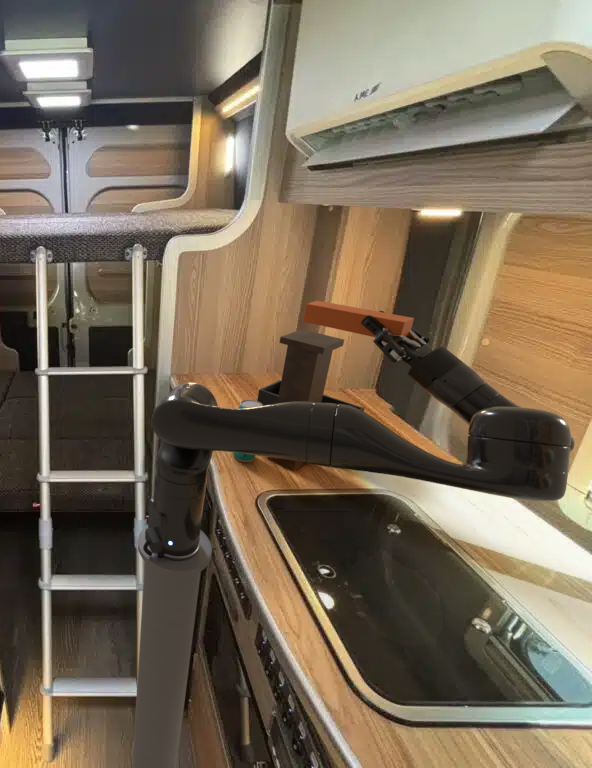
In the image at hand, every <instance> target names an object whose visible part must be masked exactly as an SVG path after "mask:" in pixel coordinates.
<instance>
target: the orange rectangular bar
mask: <svg viewBox="0 0 592 768" xmlns="http://www.w3.org/2000/svg"><path fill="white" fill-rule="evenodd" d="M368 315H372V316H373V317H374V318H375V319H376V320H378V321H379V322H380V323H381V324H383V325H384V326H385V327H386V328H388V329H389V330H391V331H392V332H393V333H394V334H397V333H398V334H400V335H404V336H405V337H406V336H409V335H408V334H409V331H411V328H412V327H413V325H414V324H413V323H414V321H415V317H411V316H410V317H409V316H406V315H399V314H394V313H388V312H385V313H383V312H379V310H378V311H377V310H371V309H366V308H361V307H356V306H349V305H343V304H338V303H334V302H327V301H323V300H315V301H311V302H308V303H306V305H305V309H304V315H303V320H302V322H303V323H307V324H312V325H316V326H322V327H326V328H330V329H335V330H339V331H344V332H349V333H353V334H358V335H363V336H367V337H372V338H375V336H376V335H374V334H373V333H372V332H370V331H369V330H368V329H367V328H366V327H364V326H363V325H362V324H361V321H362V320H363V319H364V318H365V317H366V316H368ZM390 337H391V336H390ZM391 338H392V337H391ZM385 340H386V339H385ZM399 341H400V340H396V341H395V342H399Z"/></svg>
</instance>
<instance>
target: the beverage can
mask: <svg viewBox="0 0 592 768" xmlns="http://www.w3.org/2000/svg"><path fill="white" fill-rule="evenodd" d="M239 404H240V405H239V406H238V408H237V409H244V408H254V407H260V406H263V405H262V404H261V403H260V402H258V401H257V400H254V399H244V400H241V401H240V403H239ZM232 454H233V457H234V459H235V460H236V461H239V462H241V463H250V462H253V460H254V459H255V457H256V456H257V455H252V454H246V453H239V452H232Z"/></svg>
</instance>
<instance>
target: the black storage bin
mask: <svg viewBox="0 0 592 768" xmlns="http://www.w3.org/2000/svg"><path fill="white" fill-rule="evenodd" d="M281 380H282V379H280V380H279V379H278V380H276V381H275V382H273V383H270V384H268V385H266V386H263V387H261V388H259V389H258V393H257V399H256V401H258V402H260V403H261V404H262V405H263V406H266V405H272V404H277V402H278V397H279V391H280V386H281ZM322 403H332V404H337V405H338V404H343V405H349V406H353V407H355V408H358V409H360V410H362V411H364V412H365V407H362V406H359V405H356V404H353V403H350V402H347V401H344V400H342V399H338V398H335V397H332V396H329V395H326V394H323V397H322Z"/></svg>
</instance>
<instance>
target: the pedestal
mask: <svg viewBox="0 0 592 768" xmlns="http://www.w3.org/2000/svg"><path fill="white" fill-rule="evenodd" d="M344 343H345V339H344V338H339V337H335V336H332V335H327V334H324V333H323V334H322V333H319V332H314V331H311V330H305V329H302V328H301V329H299V330H295V331H293V332H290V333H287V334H284V335H281V336H280V337H279V344H282V345H286V346H287V347H286V352H285V358H284V363H283V369H282V375H281V379H280V380H281V386H280V391H279V397H278V402H277V404H278V403H285V402H295V401H311V402H322V397H323V395H324V392H325V388H326V384H327V380H328V379H327V378H328V376H329V375H328V374H329V370H330V365H331V361H332V356H333V351H334V350H337V349H339V348H341V347H344V345H345V344H344ZM267 460H269V461H271V462H273V463H276V464H278V465H280V466H282V467H284V468H286V469H288V470H290V471H293V472H295V471H296V470H297V469H299V468H301V467H302V466H304V465H305V464H306V463H302V462H297V461H292V460H286V459H279V458H272V457H267Z"/></svg>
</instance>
